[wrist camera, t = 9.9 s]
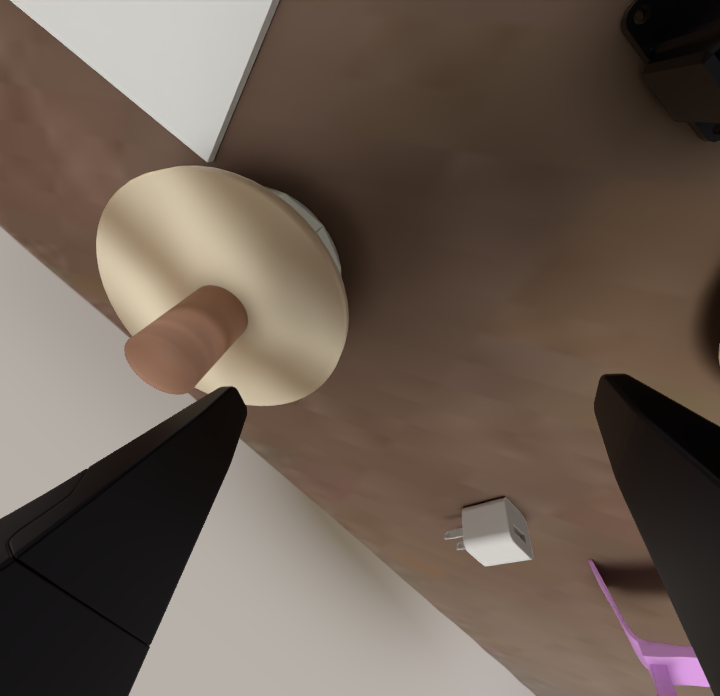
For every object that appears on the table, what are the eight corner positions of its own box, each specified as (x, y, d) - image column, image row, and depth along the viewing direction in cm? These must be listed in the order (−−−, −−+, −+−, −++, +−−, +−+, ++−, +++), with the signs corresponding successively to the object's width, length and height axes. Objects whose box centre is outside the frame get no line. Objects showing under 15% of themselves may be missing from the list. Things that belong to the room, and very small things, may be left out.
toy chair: (706, 591, 33) (861, 870, 21) (602, 591, 36) (681, 827, 24) (698, 547, 29) (878, 852, 17) (585, 553, 33) (667, 805, 21)
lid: (148, 86, 13) (-8, 72, 8) (403, 299, 16) (388, 372, 11) (93, 306, 20) (-6, 362, 15) (275, 424, 23) (235, 498, 18)
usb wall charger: (525, 517, 32) (534, 562, 28) (461, 531, 35) (463, 573, 32) (503, 494, 30) (510, 539, 27) (438, 511, 34) (438, 552, 31)
